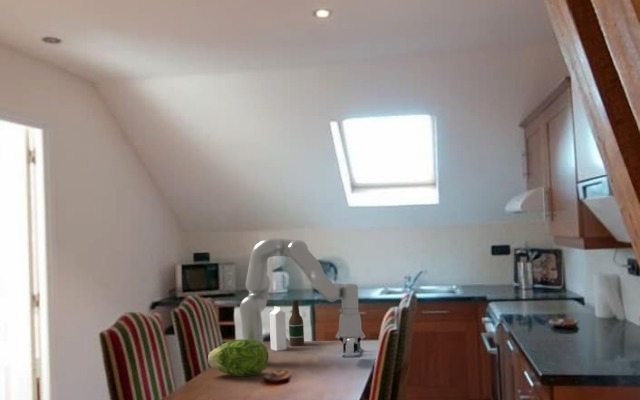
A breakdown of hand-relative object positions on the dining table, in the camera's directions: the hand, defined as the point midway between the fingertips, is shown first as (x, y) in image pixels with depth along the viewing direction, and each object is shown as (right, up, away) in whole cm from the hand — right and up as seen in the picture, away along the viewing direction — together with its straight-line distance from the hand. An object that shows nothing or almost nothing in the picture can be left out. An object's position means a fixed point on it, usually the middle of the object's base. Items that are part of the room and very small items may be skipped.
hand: (350, 351), depth 266 cm
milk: (-35, -9, +39) cm, 53 cm away
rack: (+2, -6, +22) cm, 23 cm away
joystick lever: (0, 0, +2) cm, 2 cm away
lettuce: (-49, -7, -14) cm, 51 cm away
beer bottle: (-26, -9, +48) cm, 56 cm away
